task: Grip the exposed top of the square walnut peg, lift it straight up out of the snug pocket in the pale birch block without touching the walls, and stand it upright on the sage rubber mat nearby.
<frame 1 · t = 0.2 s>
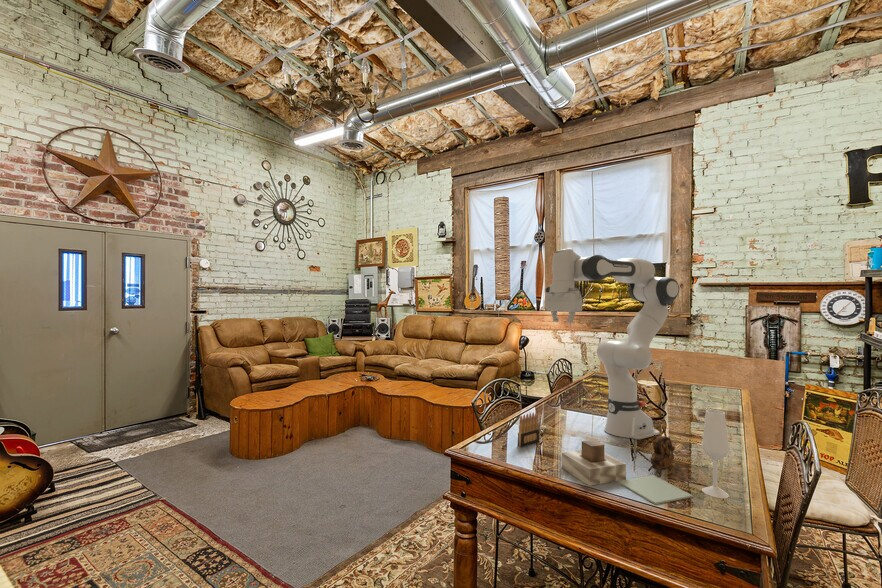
hand: (562, 322, 164), 48 cm above the table, fingers open, 8 cm apart
champagne flute: (715, 493, 120), on the table
sage mat: (653, 489, 121), on the table
walnut peg: (592, 458, 132), in the pocket block
wooden carving: (663, 467, 138), on the table
ammunition clip: (528, 444, 159), on the table
pocket block: (592, 473, 132), on the table
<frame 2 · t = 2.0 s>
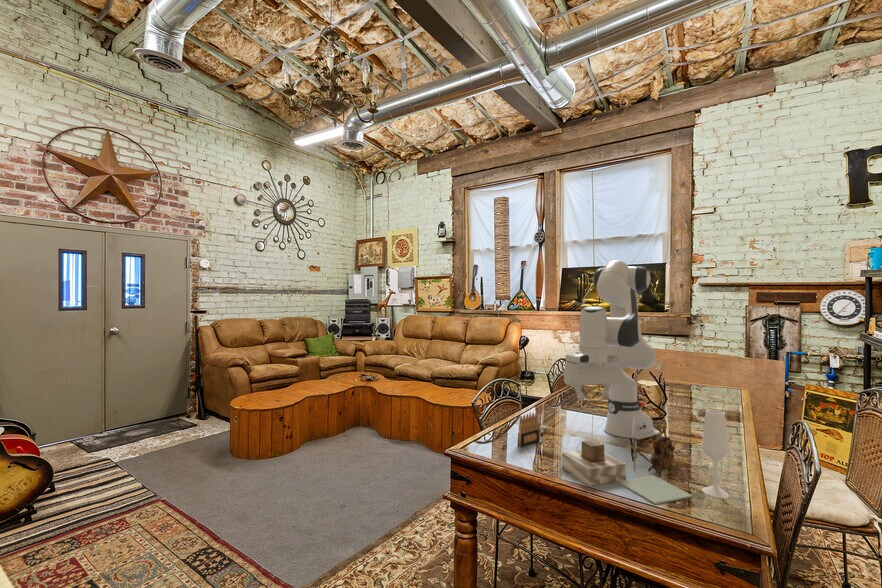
hand: (592, 397, 133), 25 cm above the table, fingers open, 8 cm apart
nothing on the table moved.
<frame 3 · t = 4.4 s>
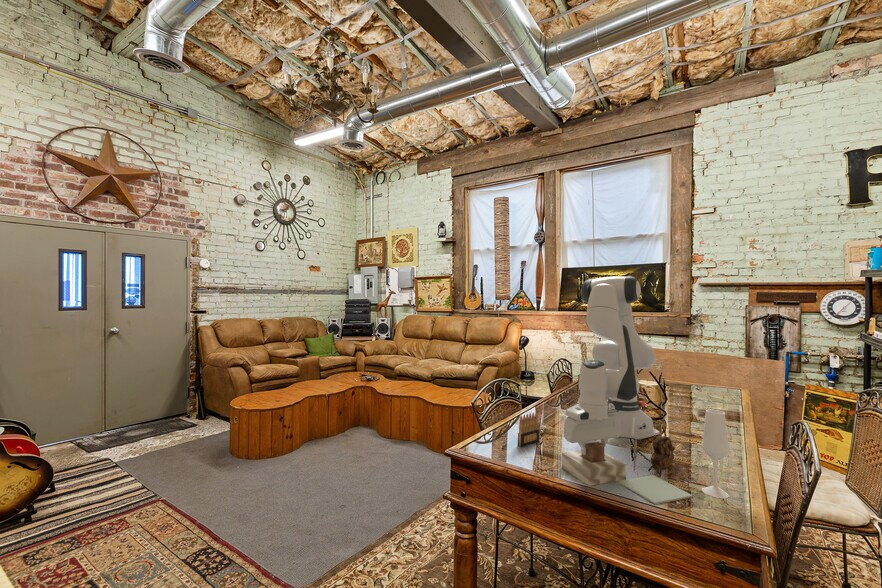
hand: (592, 453, 133), 7 cm above the table, fingers closed on walnut peg, 5 cm apart
walnut peg: (592, 458, 132), in the pocket block, touching gripper
everything else where it was.
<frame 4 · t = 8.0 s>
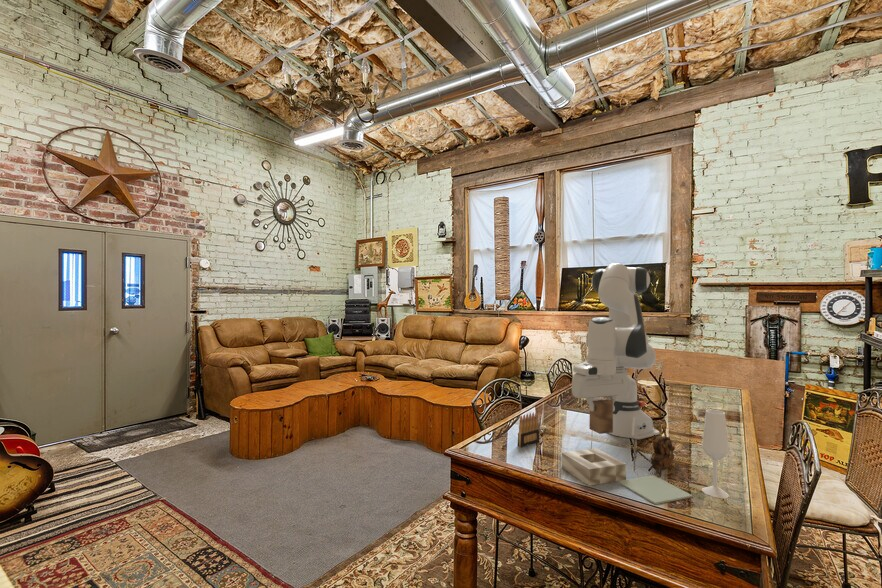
hand: (601, 410, 131), 21 cm above the table, fingers closed on walnut peg, 5 cm apart
walnut peg: (601, 415, 131), point 20 cm above the table, touching gripper
everything else where it was.
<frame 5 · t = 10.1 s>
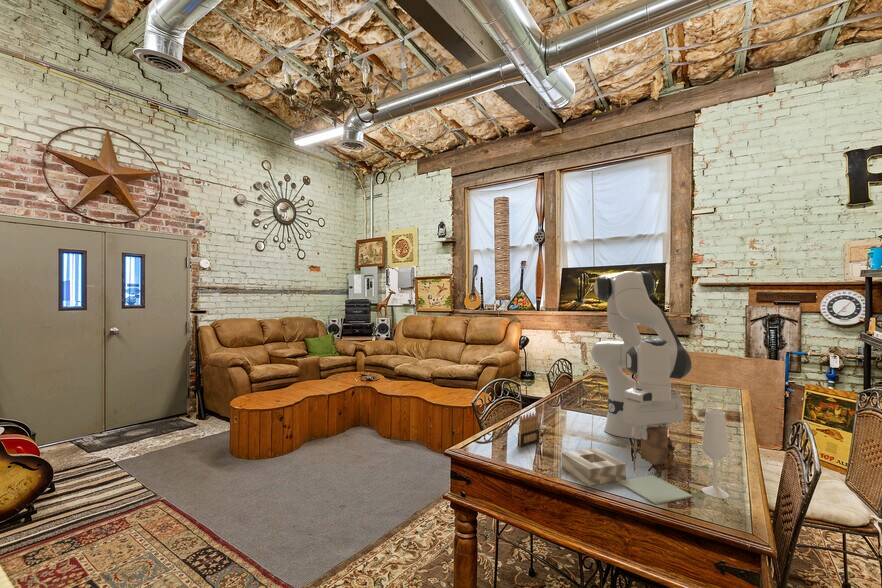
hand: (653, 438, 122), 15 cm above the table, fingers closed on walnut peg, 5 cm apart
walnut peg: (654, 443, 121), point 14 cm above the table, touching gripper
everything else where it was.
when the fingers open (9 cm above the table, at t = 11.7 s): walnut peg drops 2 cm, resting on sage mat.
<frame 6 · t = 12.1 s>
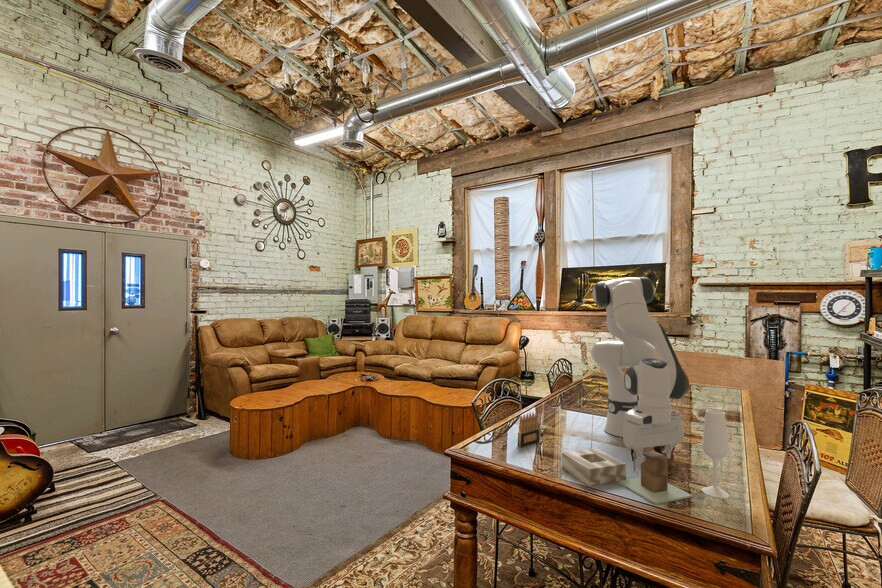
hand: (654, 459, 122), 9 cm above the table, fingers open, 8 cm apart
walnut peg: (654, 471, 122), on the sage mat
everything else where it was.
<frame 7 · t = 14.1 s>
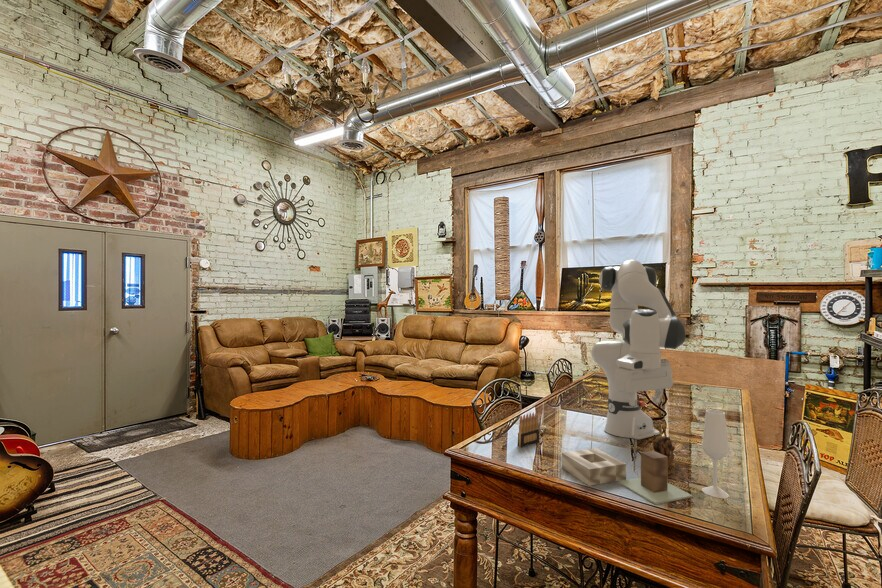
hand: (644, 404, 128), 24 cm above the table, fingers open, 8 cm apart
nothing on the table moved.
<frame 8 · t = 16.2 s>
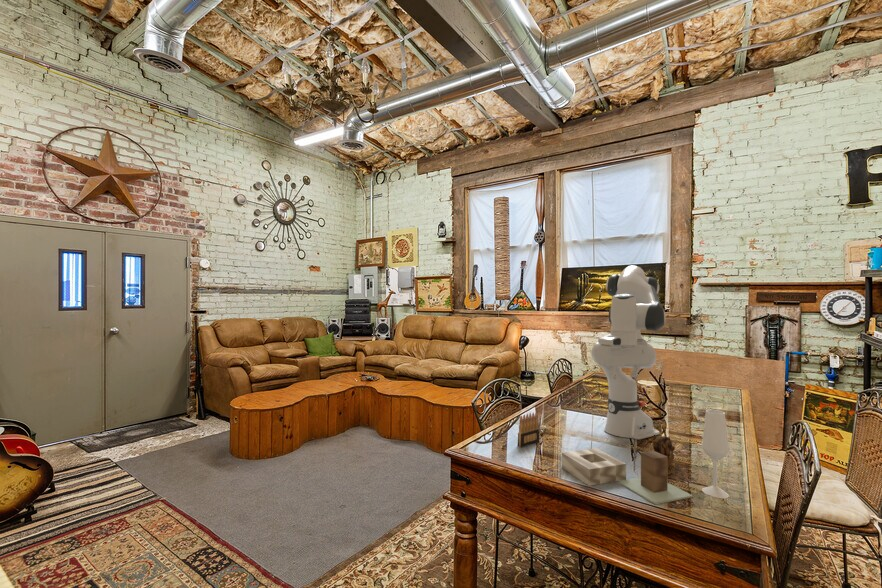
hand: (623, 378, 144), 29 cm above the table, fingers open, 8 cm apart
nothing on the table moved.
at the end: walnut peg inside the target area on the sage mat (0.0 cm from its centre), point 5.5 cm above the sage mat's base; walnut peg tilted 0°; the gripper is holding nothing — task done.
